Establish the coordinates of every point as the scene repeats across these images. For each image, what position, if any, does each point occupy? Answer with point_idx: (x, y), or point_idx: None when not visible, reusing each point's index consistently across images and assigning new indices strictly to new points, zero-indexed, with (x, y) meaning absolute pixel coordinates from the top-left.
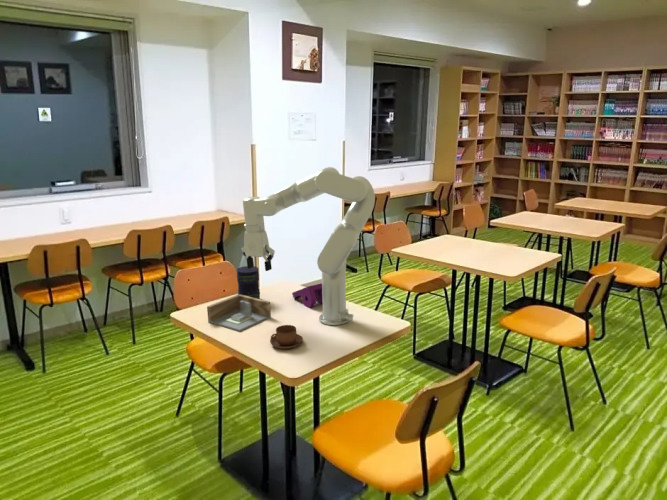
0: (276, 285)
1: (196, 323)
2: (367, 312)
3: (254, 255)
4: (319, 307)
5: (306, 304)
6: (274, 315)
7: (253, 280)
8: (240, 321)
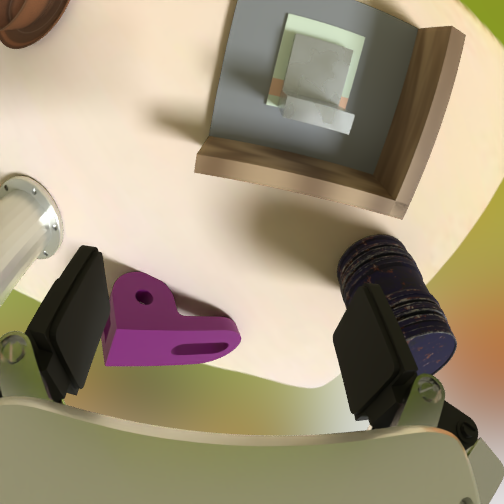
0: (332, 370)
1: (455, 23)
2: (19, 283)
3: (195, 457)
4: None
5: (150, 282)
6: None
7: None
8: (292, 38)
